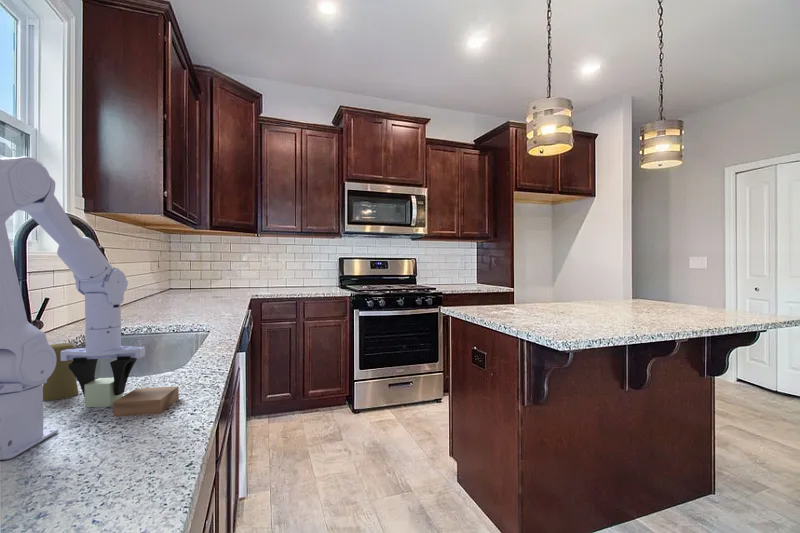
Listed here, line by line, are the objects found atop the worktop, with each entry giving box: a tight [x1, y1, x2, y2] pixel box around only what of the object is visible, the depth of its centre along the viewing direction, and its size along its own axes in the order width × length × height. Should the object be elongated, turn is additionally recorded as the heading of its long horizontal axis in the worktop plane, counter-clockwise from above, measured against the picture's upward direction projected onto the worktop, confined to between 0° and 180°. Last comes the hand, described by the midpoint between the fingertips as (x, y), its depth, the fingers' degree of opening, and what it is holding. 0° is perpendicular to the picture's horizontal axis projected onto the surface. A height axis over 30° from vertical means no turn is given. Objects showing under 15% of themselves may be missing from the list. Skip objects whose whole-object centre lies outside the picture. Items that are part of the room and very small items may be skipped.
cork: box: [43, 342, 79, 402], centre depth 83 cm, size 6×6×11 cm
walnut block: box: [112, 386, 180, 417], centre depth 76 cm, size 8×8×3 cm
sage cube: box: [84, 376, 124, 408], centre depth 79 cm, size 4×4×4 cm
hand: (104, 394), depth 79 cm, fingers open, 5 cm apart
